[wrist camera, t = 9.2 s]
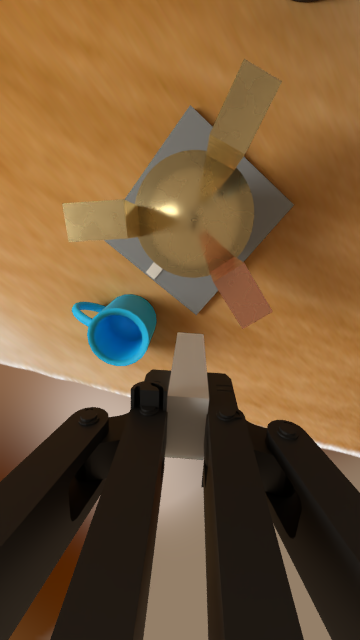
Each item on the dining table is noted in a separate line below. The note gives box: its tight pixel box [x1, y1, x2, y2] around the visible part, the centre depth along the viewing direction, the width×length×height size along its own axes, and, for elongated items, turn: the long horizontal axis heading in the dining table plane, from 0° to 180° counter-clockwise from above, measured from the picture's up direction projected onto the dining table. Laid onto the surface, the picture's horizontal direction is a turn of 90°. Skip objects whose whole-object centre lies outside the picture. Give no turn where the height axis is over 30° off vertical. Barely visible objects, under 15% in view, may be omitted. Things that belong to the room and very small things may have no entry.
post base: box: [104, 106, 294, 315], centre depth 36 cm, size 20×20×9 cm
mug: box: [72, 294, 157, 366], centre depth 41 cm, size 12×8×8 cm
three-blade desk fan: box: [62, 59, 282, 329], centre depth 27 cm, size 17×20×9 cm
